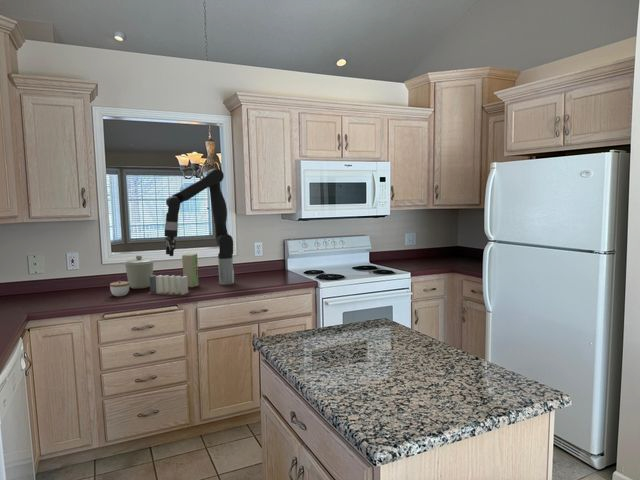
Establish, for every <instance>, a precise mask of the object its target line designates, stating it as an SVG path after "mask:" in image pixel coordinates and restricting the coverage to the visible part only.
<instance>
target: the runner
mask: <svg viewBox="0 0 640 480" xmlns="http://www.w3.org/2000/svg"><path fill="white" fill-rule="evenodd" d="M189 293H190V291H188V293H186V294H181V293H179V294H175V292H174V293H172V294H169V292H167V293H163V292H160V293H157V292H154V293H150V292H148V293H147V294H151V295H171V296H172V295H174V296H184V295H187V294H189Z"/></svg>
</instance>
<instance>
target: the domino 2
mask: <svg viewBox="0 0 640 480" xmlns="http://www.w3.org/2000/svg"><path fill="white" fill-rule="evenodd" d="M163 276H164V275H163V274H160V275H157V276H156V292H157V293H160V292H163V291H162V277H163Z"/></svg>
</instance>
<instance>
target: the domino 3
mask: <svg viewBox="0 0 640 480" xmlns="http://www.w3.org/2000/svg"><path fill="white" fill-rule="evenodd" d="M168 277H170V275H169V274H166V275H163V277H162V291H163V293H167V292H169V289H168Z"/></svg>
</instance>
